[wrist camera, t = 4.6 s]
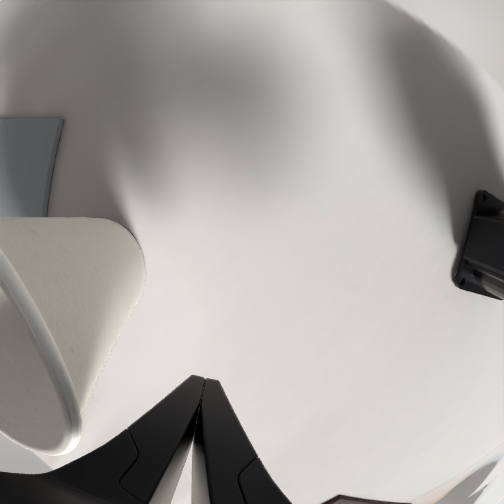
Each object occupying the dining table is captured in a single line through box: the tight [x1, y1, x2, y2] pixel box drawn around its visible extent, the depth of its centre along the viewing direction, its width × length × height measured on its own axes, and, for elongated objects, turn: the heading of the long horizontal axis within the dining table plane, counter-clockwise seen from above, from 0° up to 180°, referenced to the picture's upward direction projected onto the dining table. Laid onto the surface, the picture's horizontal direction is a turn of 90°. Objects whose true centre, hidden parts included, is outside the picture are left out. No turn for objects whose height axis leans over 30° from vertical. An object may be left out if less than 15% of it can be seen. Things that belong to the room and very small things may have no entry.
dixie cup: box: [0, 217, 146, 455], centre depth 10 cm, size 8×8×10 cm
